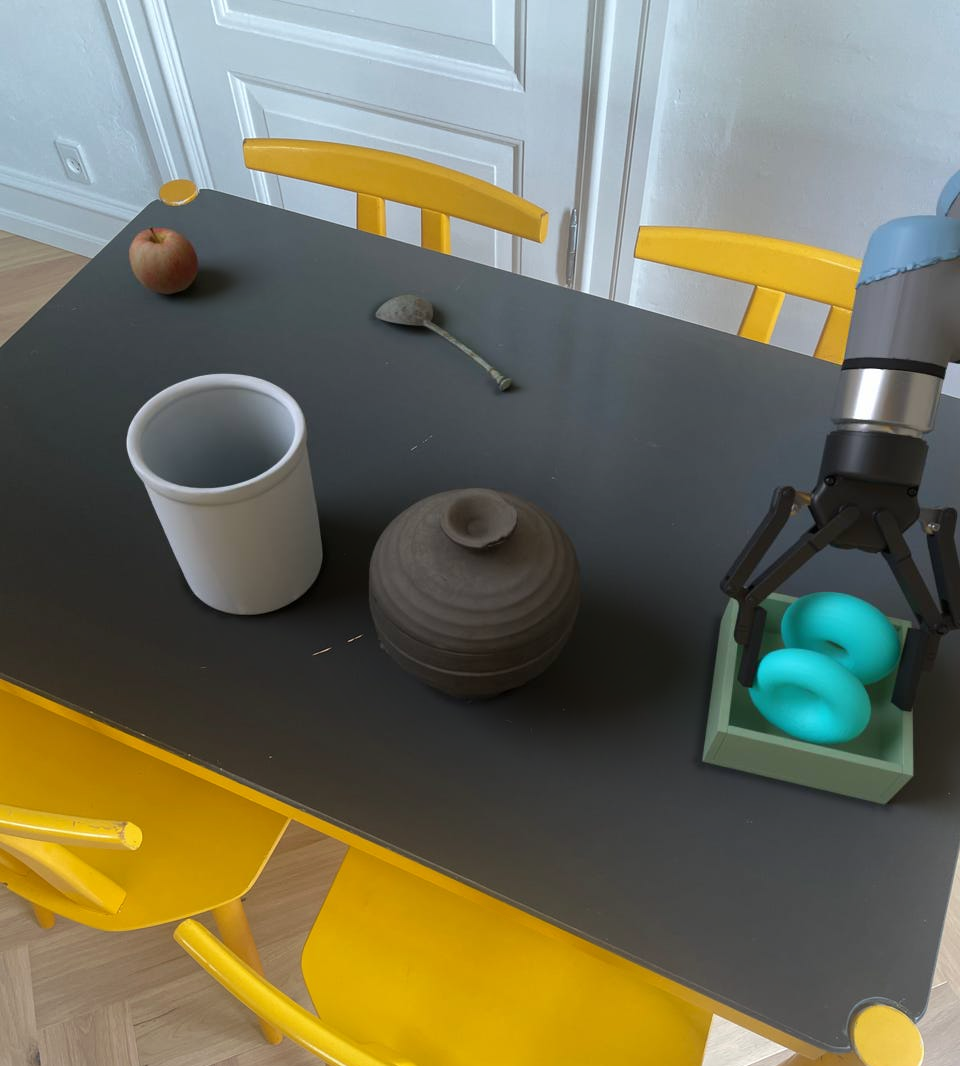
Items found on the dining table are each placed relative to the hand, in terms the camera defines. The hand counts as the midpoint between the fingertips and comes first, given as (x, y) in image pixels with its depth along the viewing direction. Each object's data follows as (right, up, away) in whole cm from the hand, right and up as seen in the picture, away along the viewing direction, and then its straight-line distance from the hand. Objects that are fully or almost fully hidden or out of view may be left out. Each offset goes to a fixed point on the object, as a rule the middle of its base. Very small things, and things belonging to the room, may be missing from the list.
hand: (822, 695), depth 74 cm
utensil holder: (-51, +13, +15) cm, 55 cm away
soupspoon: (-33, +40, +34) cm, 62 cm away
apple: (-68, +50, +40) cm, 94 cm away
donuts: (0, -1, +5) cm, 5 cm away
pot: (-29, +3, +10) cm, 31 cm away
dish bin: (0, -1, +7) cm, 7 cm away
